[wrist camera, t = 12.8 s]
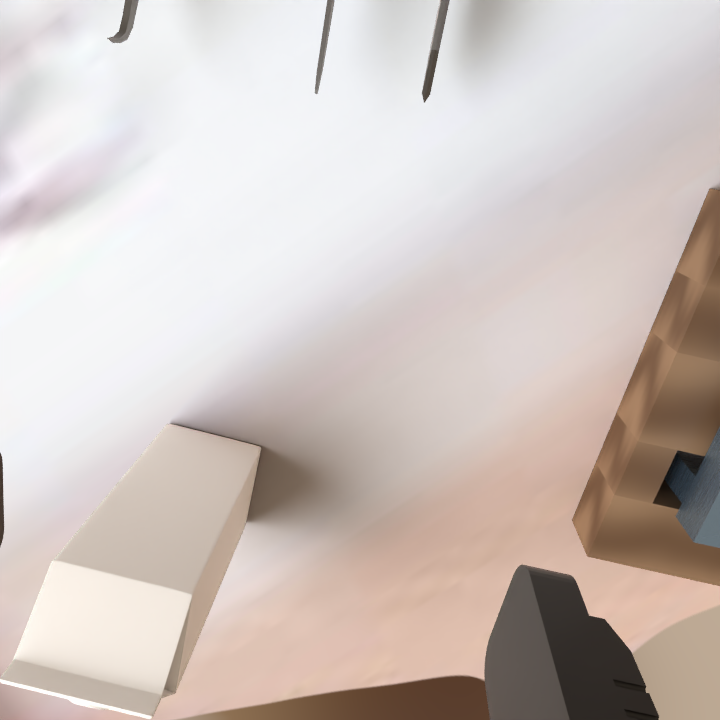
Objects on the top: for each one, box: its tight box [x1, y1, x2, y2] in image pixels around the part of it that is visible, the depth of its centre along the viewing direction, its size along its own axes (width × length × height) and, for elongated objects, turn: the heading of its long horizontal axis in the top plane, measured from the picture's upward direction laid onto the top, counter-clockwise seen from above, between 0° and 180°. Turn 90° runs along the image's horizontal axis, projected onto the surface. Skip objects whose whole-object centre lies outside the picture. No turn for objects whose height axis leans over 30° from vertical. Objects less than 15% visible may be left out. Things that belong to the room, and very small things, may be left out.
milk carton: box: [0, 424, 261, 719], centre depth 36 cm, size 7×7×19 cm
